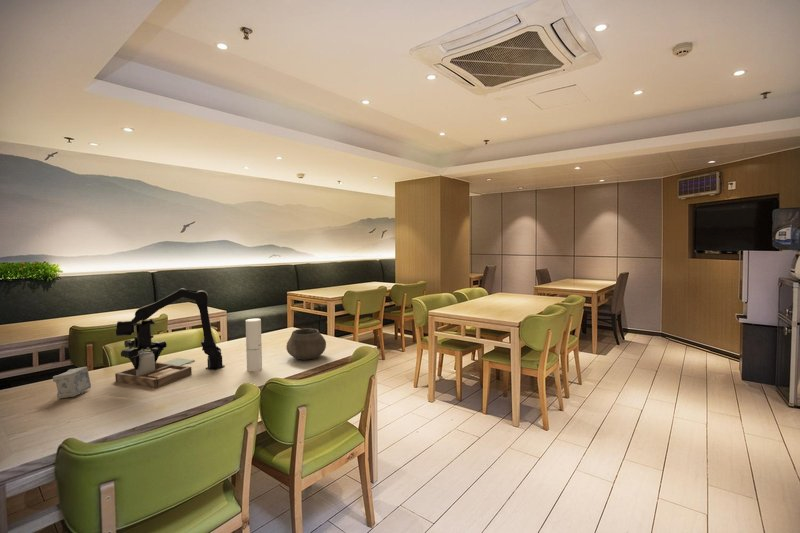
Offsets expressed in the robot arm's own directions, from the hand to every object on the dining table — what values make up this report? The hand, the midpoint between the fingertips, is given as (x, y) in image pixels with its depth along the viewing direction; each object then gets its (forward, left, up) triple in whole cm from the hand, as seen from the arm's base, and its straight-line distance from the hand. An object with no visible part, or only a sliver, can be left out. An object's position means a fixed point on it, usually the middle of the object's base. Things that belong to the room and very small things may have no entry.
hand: (145, 366), depth 181 cm
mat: (+4, -20, -5) cm, 21 cm away
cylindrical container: (-41, -26, -5) cm, 49 cm away
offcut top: (-12, 0, -3) cm, 12 cm away
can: (0, 0, -5) cm, 5 cm away
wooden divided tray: (-6, 0, -5) cm, 8 cm away
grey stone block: (+9, +25, -5) cm, 27 cm away
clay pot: (-55, -51, -5) cm, 75 cm away
